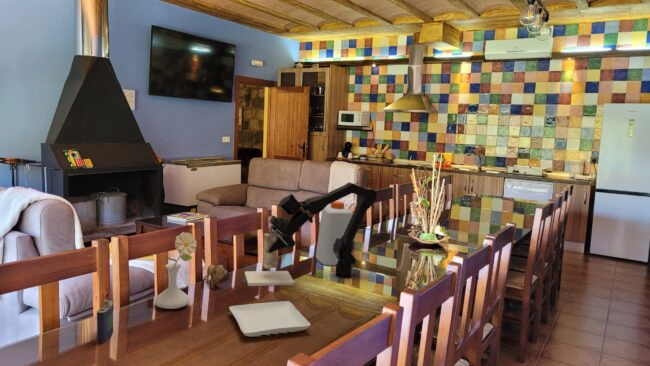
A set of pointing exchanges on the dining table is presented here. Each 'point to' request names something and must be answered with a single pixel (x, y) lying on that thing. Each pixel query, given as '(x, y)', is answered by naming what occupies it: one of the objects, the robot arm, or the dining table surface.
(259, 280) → the platter
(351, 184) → the robot arm
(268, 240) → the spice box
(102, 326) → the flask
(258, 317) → the salad plate
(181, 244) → the flower in vase
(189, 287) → the dining table surface
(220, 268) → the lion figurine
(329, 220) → the plastic bottle
